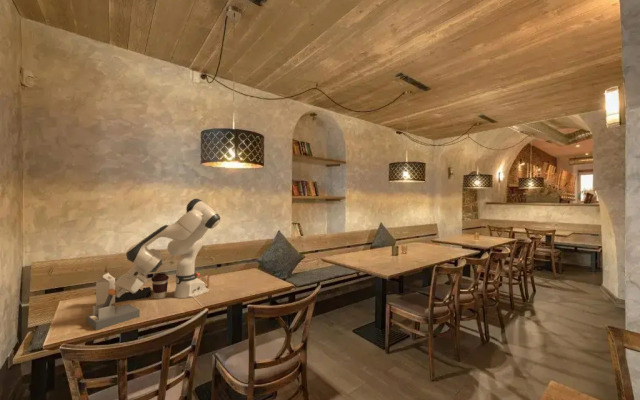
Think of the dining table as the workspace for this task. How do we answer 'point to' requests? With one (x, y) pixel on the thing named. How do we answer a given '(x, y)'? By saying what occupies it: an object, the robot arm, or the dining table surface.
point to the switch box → (111, 315)
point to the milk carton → (104, 289)
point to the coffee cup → (160, 285)
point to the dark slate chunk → (134, 295)
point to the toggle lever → (109, 297)
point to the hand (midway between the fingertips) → (116, 296)
